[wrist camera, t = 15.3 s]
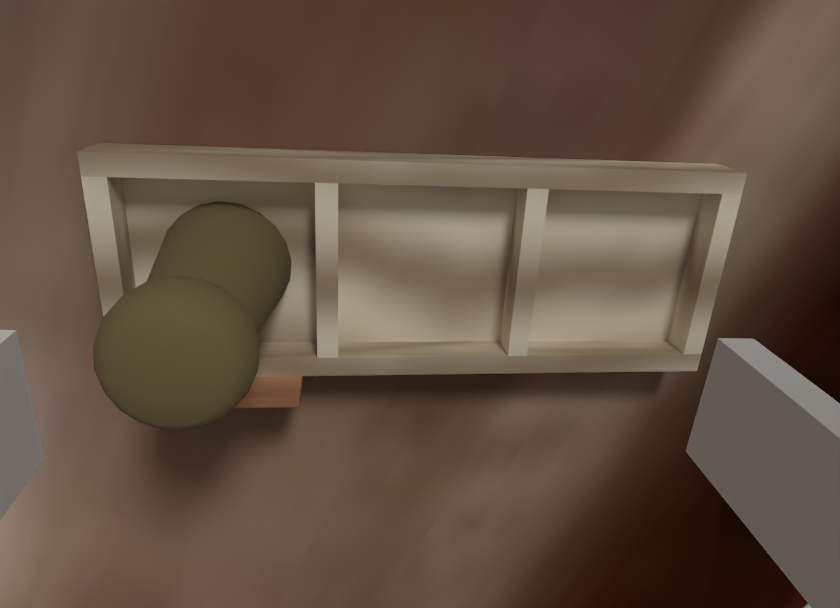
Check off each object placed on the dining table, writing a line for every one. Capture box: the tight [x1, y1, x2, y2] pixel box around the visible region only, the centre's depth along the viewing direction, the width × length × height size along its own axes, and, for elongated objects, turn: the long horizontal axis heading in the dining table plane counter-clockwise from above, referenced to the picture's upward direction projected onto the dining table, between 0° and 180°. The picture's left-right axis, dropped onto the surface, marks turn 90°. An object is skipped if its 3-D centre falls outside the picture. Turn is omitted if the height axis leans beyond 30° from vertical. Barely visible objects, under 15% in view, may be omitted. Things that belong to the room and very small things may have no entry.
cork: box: [93, 201, 292, 430], centre depth 24 cm, size 6×6×11 cm
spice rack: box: [77, 143, 747, 408], centre depth 29 cm, size 11×30×4 cm, turn 87°
